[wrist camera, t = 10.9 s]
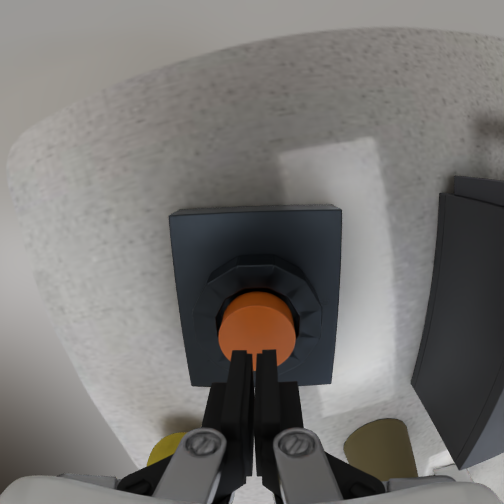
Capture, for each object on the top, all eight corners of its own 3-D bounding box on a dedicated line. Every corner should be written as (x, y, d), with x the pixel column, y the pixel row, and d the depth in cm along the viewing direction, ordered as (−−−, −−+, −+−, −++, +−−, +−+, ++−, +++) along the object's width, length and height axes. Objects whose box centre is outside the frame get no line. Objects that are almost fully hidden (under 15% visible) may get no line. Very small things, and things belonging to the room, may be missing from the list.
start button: (219, 291, 16) (214, 306, 14) (293, 289, 16) (296, 304, 14) (225, 352, 17) (221, 371, 15) (292, 351, 17) (295, 370, 15)
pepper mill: (335, 462, 24) (352, 560, 13) (355, 419, 22) (387, 530, 12) (391, 458, 24) (421, 545, 13) (416, 416, 22) (462, 510, 12)
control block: (178, 209, 18) (157, 221, 15) (333, 204, 18) (351, 214, 14) (197, 367, 21) (185, 404, 17) (326, 365, 21) (336, 402, 17)
